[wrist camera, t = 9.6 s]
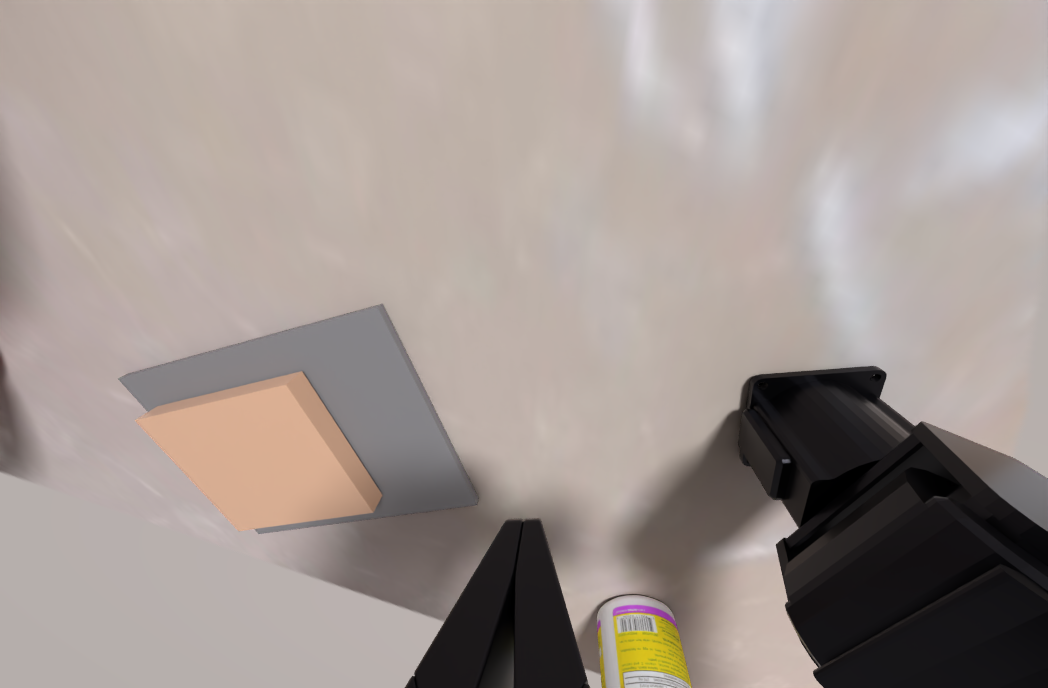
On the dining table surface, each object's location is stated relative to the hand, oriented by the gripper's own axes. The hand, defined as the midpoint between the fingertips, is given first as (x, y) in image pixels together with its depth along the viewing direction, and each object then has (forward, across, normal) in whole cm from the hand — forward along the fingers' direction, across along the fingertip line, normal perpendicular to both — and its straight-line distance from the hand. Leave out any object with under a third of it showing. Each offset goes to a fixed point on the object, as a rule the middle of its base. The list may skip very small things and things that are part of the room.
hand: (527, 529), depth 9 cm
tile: (+12, +14, +7) cm, 20 cm away
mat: (+13, +18, +8) cm, 23 cm away
